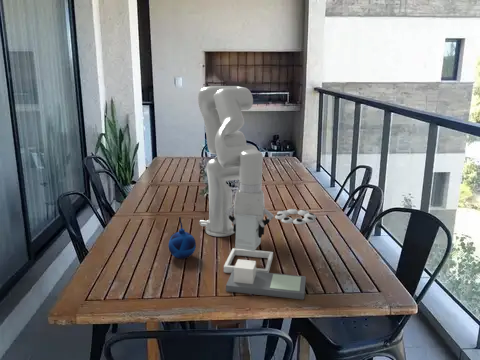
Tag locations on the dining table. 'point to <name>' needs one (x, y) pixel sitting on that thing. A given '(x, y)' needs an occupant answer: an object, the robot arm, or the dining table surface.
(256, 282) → the grey base with cube
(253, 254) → the white square frame
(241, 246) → the supplement box
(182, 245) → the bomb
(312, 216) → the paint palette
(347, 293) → the dining table surface
